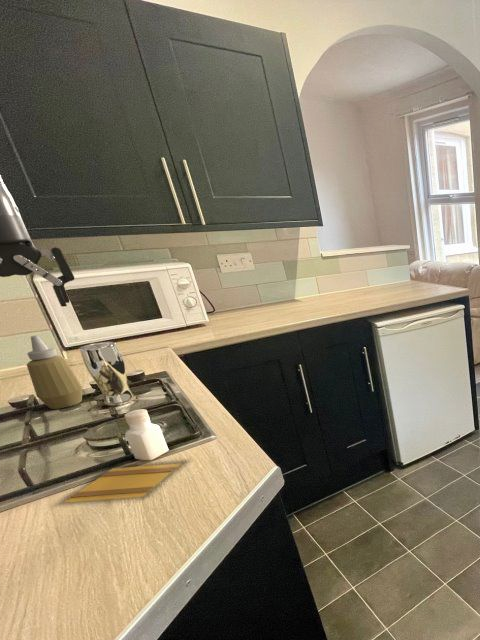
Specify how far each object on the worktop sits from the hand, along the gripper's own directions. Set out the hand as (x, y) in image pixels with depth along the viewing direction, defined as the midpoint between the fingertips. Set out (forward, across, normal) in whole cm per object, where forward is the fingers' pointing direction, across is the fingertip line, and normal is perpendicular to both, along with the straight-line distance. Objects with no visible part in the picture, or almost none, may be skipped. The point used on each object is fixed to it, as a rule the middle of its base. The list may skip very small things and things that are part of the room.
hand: (30, 310), depth 76 cm
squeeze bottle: (+28, +1, -35) cm, 45 cm away
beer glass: (+28, -8, -26) cm, 39 cm away
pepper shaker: (+28, -7, +16) cm, 33 cm away
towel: (+28, -1, +24) cm, 37 cm away
